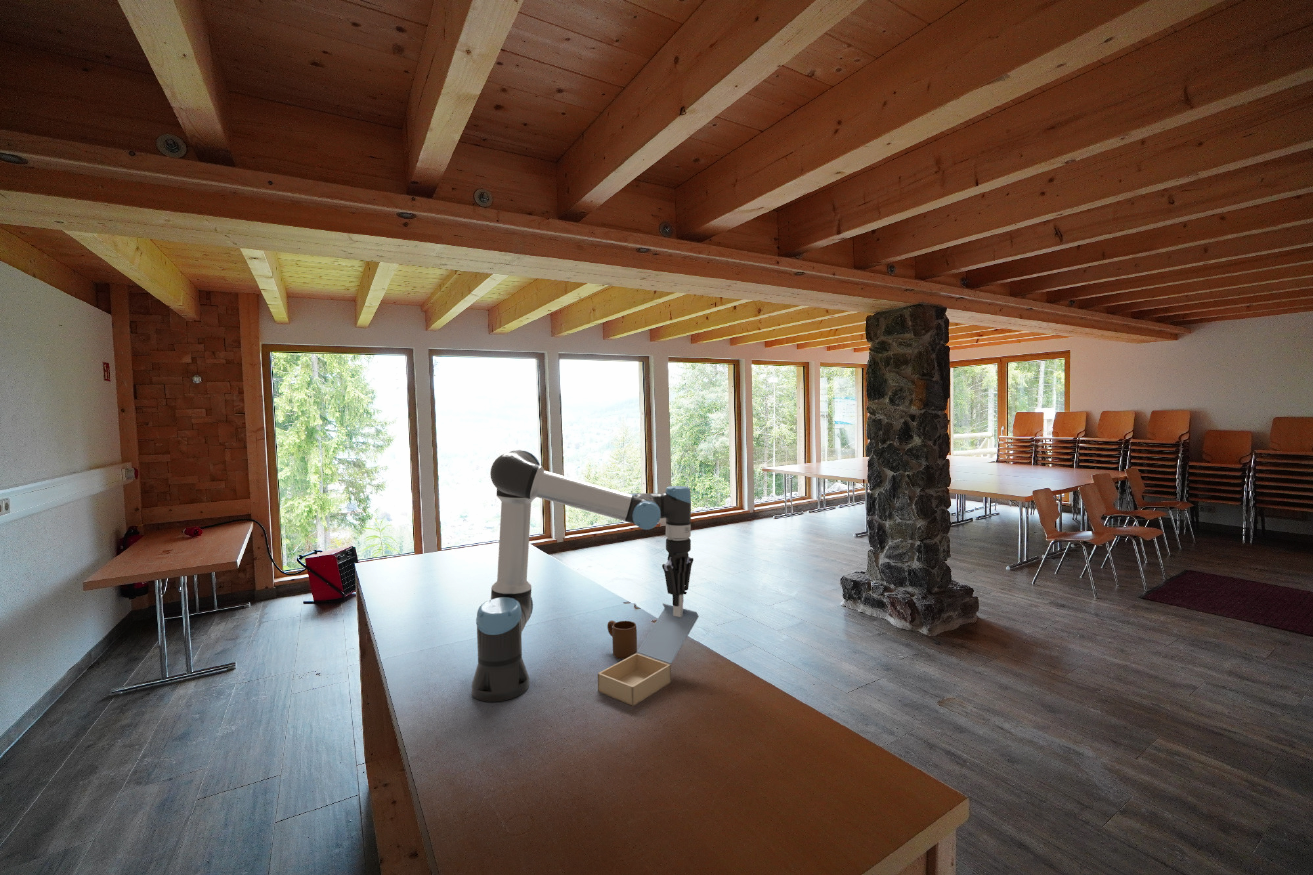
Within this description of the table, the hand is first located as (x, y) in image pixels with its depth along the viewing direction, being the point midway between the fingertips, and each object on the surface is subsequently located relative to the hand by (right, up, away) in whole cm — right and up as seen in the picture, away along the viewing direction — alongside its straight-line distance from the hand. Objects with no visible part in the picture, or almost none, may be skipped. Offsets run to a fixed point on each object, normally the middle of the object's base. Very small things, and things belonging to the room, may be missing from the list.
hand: (677, 615), depth 166 cm
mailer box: (-12, -15, -15) cm, 24 cm away
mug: (-18, -14, +8) cm, 24 cm away
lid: (-4, -3, -4) cm, 6 cm away
